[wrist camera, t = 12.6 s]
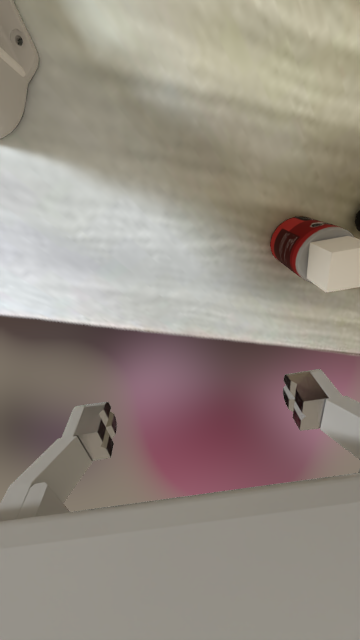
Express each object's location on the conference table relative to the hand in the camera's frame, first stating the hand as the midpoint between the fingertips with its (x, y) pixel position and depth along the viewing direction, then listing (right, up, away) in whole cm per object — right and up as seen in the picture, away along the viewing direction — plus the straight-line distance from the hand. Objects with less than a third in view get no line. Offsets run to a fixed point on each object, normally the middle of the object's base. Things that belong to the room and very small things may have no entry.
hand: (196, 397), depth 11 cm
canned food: (+19, +18, +32) cm, 41 cm away
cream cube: (+19, +12, +22) cm, 32 cm away
